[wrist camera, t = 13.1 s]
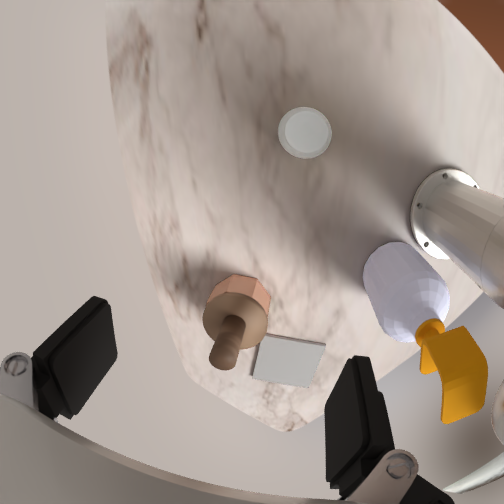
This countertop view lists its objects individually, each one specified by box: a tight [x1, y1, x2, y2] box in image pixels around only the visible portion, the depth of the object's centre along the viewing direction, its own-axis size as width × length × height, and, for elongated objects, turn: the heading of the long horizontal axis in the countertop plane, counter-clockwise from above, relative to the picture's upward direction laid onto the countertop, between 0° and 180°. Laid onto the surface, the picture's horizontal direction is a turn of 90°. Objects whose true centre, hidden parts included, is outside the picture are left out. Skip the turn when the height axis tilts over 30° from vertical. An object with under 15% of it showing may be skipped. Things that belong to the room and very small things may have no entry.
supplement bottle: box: [278, 107, 332, 159], centre depth 28 cm, size 5×5×10 cm
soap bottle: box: [362, 242, 488, 424], centre depth 26 cm, size 9×9×25 cm
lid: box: [203, 292, 268, 370], centre depth 34 cm, size 8×8×8 cm
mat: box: [252, 334, 326, 388], centre depth 45 cm, size 10×10×1 cm
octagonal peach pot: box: [206, 274, 271, 316], centre depth 40 cm, size 8×8×5 cm
